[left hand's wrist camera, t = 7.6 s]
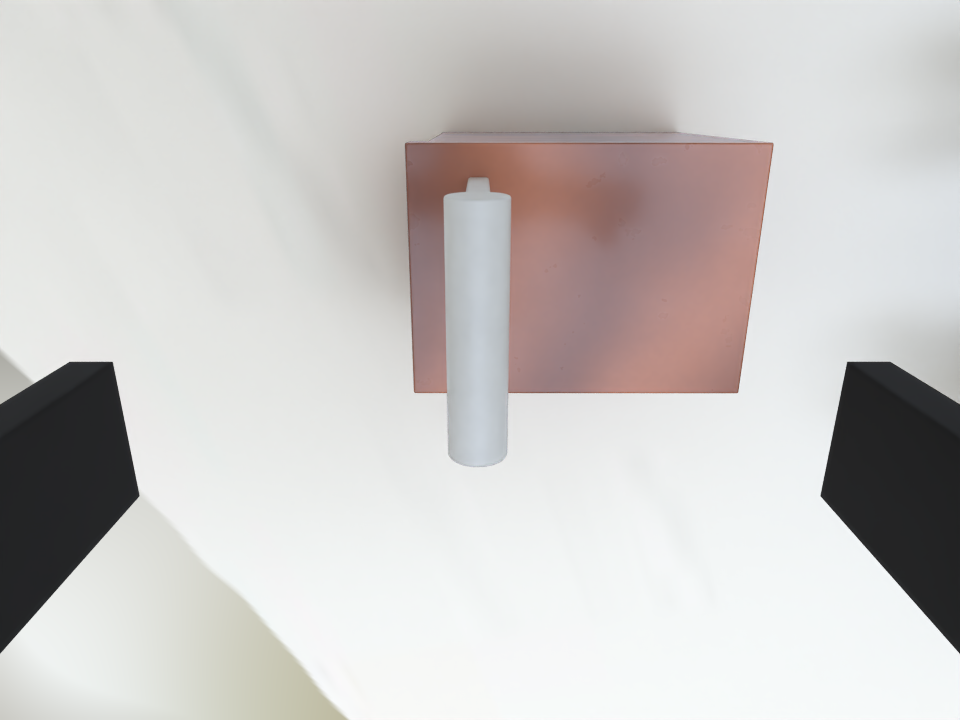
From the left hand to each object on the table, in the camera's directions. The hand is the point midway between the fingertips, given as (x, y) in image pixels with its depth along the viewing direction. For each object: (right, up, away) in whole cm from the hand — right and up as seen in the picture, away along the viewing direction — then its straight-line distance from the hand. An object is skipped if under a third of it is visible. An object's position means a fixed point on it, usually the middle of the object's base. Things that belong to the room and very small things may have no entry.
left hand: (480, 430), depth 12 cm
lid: (+4, +5, +13) cm, 14 cm away
